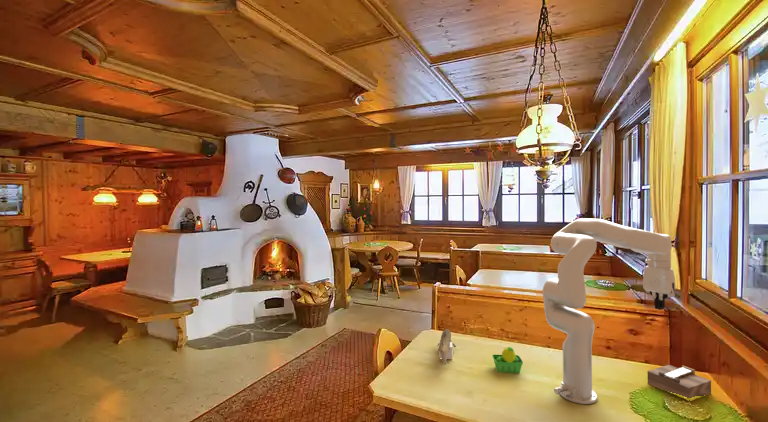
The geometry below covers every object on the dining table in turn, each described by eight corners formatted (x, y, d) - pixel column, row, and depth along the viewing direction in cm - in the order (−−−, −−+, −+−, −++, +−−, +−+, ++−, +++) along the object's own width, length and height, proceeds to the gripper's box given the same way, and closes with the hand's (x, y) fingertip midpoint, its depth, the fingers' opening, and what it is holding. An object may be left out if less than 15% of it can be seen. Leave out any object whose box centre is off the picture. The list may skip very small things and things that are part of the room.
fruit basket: (518, 366, 157) (518, 340, 157) (524, 376, 148) (524, 349, 148) (492, 365, 158) (491, 340, 158) (496, 375, 150) (496, 348, 149)
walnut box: (689, 402, 127) (689, 383, 126) (647, 383, 140) (647, 366, 139) (711, 393, 131) (711, 375, 131) (668, 376, 144) (668, 360, 144)
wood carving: (433, 376, 150) (432, 349, 150) (438, 343, 184) (438, 322, 184) (455, 377, 148) (454, 351, 148) (456, 344, 183) (455, 322, 182)
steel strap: (672, 379, 132) (672, 377, 132) (663, 376, 135) (663, 374, 135) (691, 372, 136) (691, 370, 136) (682, 369, 139) (682, 367, 139)
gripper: (634, 262, 151) (634, 305, 152) (673, 268, 137) (674, 315, 138) (646, 260, 154) (646, 302, 155) (686, 266, 140) (686, 312, 141)
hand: (659, 308), depth 146 cm, fingers closed
